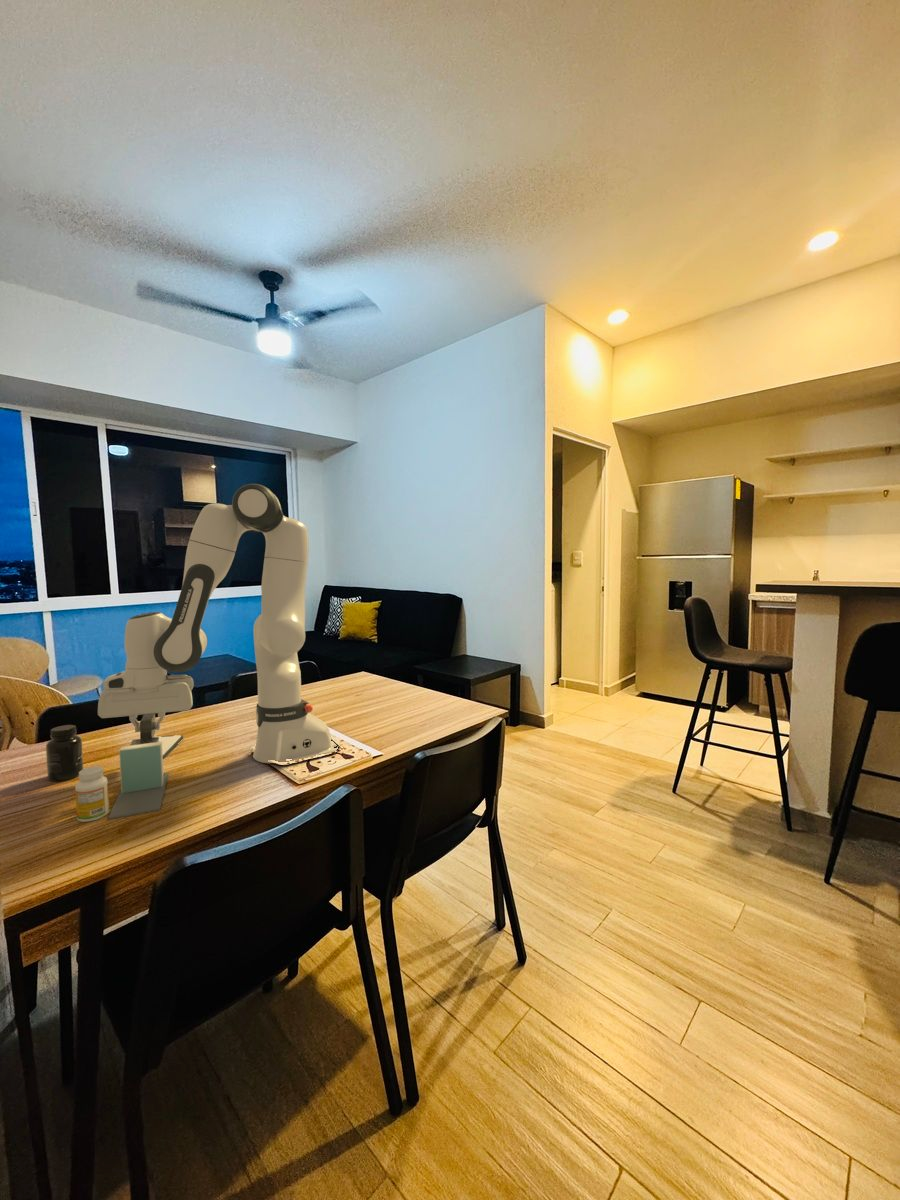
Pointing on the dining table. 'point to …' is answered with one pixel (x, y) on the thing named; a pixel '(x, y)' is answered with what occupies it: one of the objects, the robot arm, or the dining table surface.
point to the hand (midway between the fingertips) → (147, 730)
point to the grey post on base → (146, 730)
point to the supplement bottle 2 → (91, 794)
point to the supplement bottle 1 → (64, 753)
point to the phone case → (169, 743)
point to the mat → (138, 801)
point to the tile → (141, 767)
